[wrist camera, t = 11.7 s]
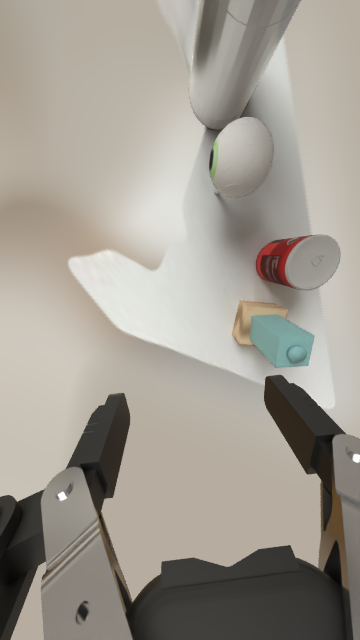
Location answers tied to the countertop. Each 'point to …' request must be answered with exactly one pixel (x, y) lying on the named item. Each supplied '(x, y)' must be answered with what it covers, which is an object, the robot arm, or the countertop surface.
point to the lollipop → (241, 157)
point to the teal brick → (281, 340)
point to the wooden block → (245, 314)
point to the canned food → (299, 261)
